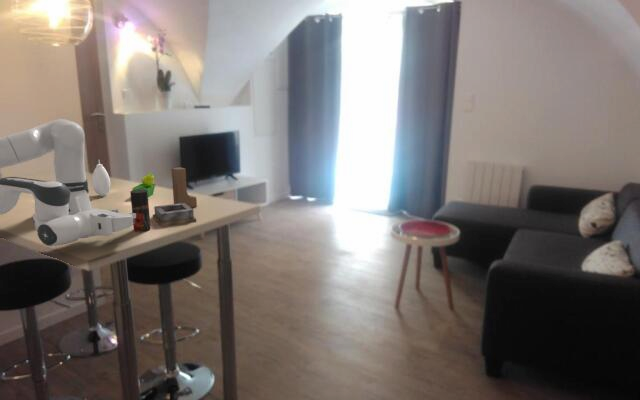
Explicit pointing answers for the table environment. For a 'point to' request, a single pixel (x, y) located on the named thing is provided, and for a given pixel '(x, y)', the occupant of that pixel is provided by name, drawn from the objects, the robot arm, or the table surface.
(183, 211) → the grey shallow box
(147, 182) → the fruit basket
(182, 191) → the wooden block
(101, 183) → the white teardrop ornament
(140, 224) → the deodorant
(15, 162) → the robot arm
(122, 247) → the table surface
